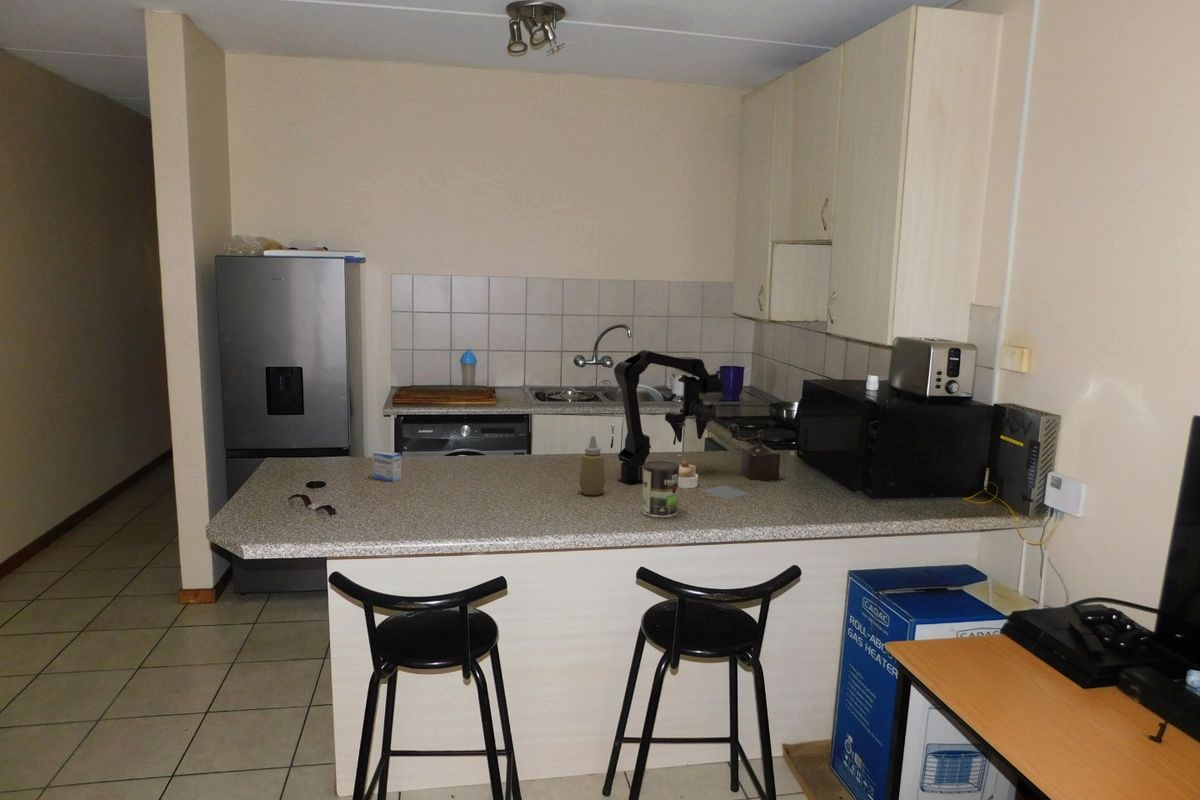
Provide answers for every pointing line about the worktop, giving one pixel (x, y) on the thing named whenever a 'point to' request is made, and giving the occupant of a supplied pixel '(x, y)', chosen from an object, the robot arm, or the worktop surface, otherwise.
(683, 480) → the bowl
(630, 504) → the worktop surface
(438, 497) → the worktop surface
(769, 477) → the manual coffee grinder
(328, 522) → the worktop surface
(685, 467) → the lid
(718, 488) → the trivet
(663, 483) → the coffee can
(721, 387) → the robot arm
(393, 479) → the medicine box
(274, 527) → the worktop surface
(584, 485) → the squeeze bottle
